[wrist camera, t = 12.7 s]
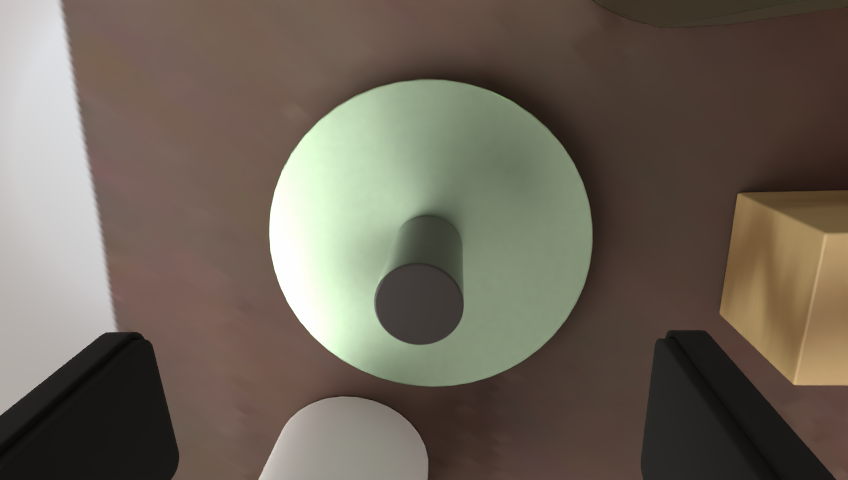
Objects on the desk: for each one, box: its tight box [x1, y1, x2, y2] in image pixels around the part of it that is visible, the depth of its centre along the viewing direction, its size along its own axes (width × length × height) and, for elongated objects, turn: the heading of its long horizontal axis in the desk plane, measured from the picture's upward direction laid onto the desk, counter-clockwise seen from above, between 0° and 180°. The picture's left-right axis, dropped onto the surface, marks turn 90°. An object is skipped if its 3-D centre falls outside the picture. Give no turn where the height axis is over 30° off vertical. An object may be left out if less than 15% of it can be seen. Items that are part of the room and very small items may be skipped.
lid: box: [269, 79, 593, 387], centre depth 18 cm, size 12×12×6 cm
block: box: [720, 190, 848, 385], centre depth 18 cm, size 5×5×5 cm
